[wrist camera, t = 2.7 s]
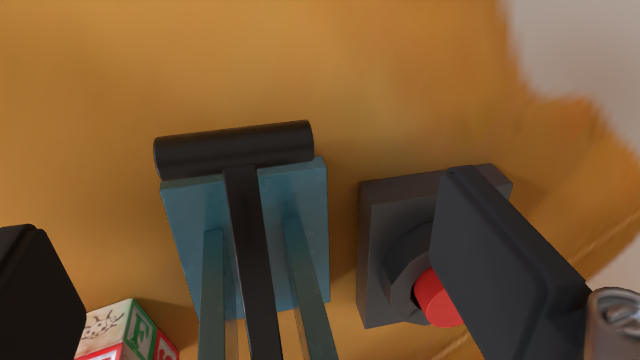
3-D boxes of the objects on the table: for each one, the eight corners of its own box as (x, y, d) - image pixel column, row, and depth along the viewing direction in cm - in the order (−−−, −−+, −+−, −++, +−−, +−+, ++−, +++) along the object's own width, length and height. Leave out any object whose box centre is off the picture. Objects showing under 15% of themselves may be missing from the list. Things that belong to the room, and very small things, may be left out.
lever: (162, 136, 14) (145, 138, 12) (303, 119, 15) (313, 118, 13) (215, 442, 16) (210, 496, 14) (339, 413, 17) (353, 460, 15)
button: (416, 263, 22) (430, 288, 20) (479, 252, 22) (496, 275, 21) (410, 308, 24) (422, 333, 22) (467, 296, 24) (483, 320, 23)
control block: (358, 181, 23) (382, 227, 19) (491, 162, 24) (534, 202, 21) (355, 302, 28) (373, 354, 25) (463, 282, 29) (494, 328, 26)
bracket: (161, 176, 20) (109, 424, 10) (322, 155, 21) (409, 359, 12) (201, 311, 26) (190, 554, 16) (326, 288, 27) (387, 501, 17)
